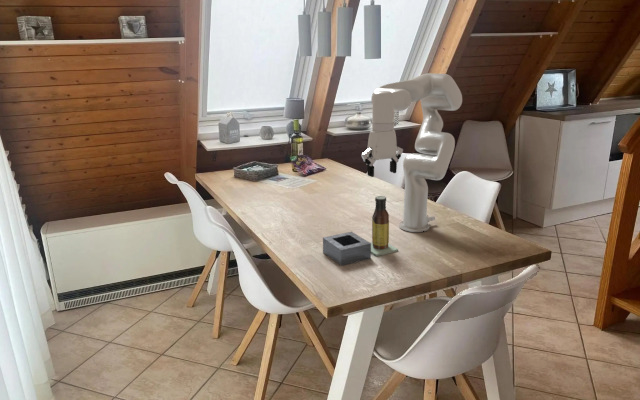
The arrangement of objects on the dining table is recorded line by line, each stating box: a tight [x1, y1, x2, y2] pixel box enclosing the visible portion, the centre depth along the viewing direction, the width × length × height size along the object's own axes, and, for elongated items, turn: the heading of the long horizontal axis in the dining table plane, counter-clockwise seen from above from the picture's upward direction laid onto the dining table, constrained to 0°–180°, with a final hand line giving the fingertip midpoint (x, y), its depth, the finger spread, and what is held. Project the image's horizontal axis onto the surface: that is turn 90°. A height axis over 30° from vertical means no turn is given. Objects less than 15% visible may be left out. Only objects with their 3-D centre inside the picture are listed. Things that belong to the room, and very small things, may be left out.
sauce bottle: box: [371, 195, 390, 249], centre depth 182 cm, size 7×6×20 cm
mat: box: [370, 242, 399, 257], centre depth 185 cm, size 10×10×1 cm
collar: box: [322, 231, 372, 267], centre depth 179 cm, size 12×13×6 cm
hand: (382, 174), depth 176 cm, fingers open, 9 cm apart
